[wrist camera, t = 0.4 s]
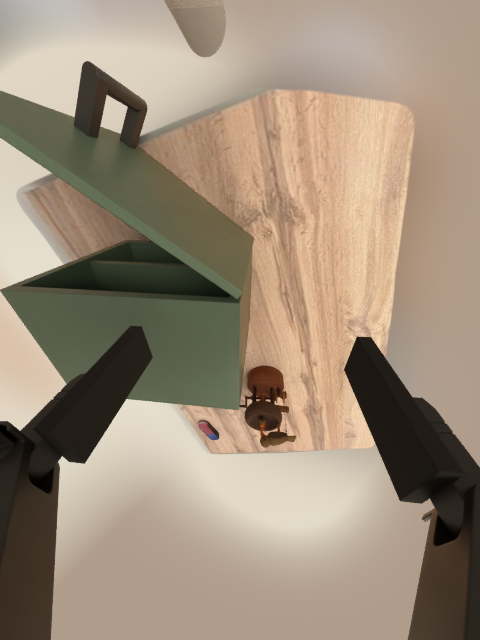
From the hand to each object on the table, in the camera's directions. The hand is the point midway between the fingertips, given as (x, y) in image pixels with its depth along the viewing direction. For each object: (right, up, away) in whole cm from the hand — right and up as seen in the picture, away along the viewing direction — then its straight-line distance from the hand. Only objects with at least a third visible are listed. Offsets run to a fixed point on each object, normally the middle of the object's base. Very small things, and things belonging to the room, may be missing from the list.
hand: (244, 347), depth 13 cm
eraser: (-12, -41, +68) cm, 80 cm away
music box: (+7, -16, +49) cm, 52 cm away
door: (-7, +26, +22) cm, 35 cm away
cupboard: (-11, +10, +33) cm, 36 cm away
